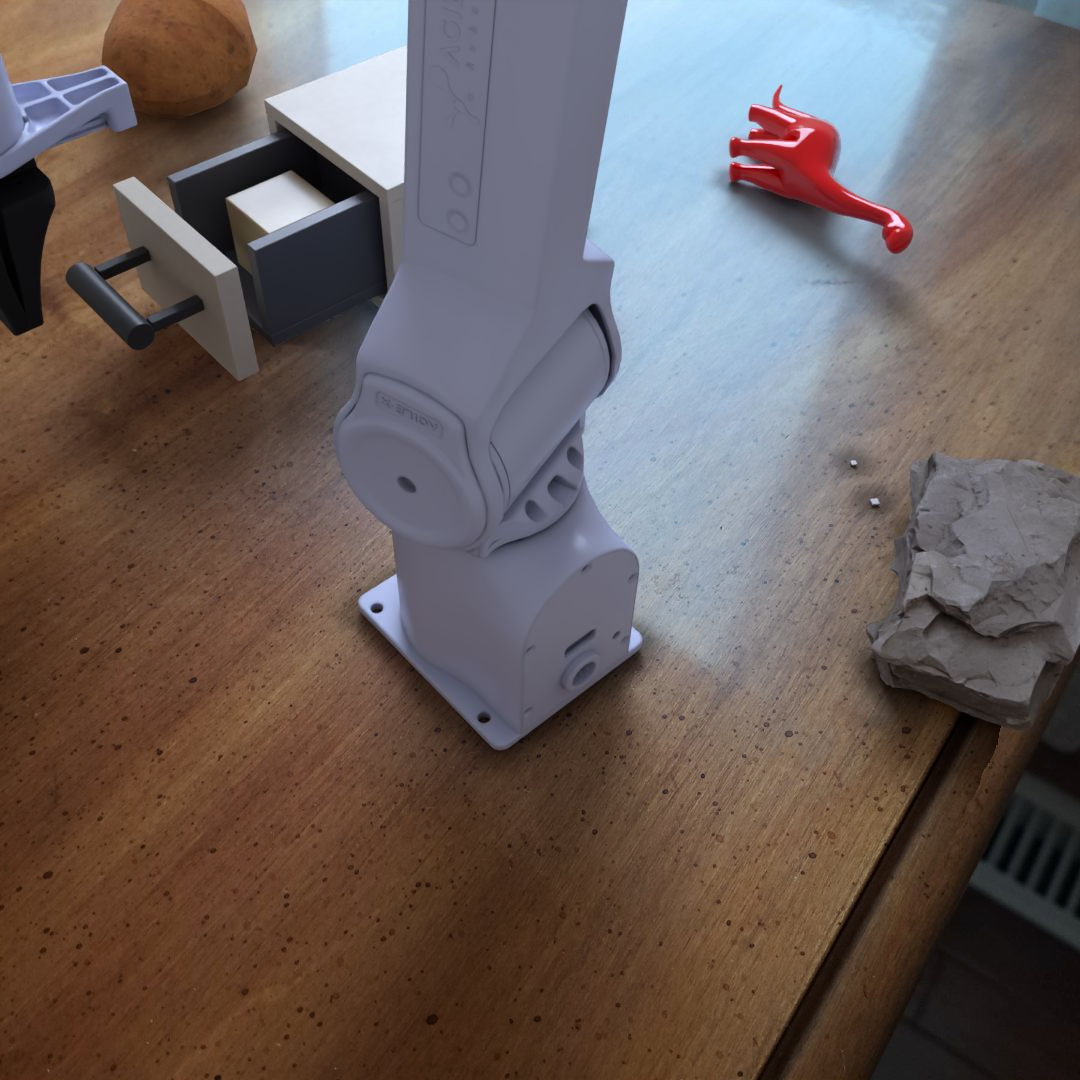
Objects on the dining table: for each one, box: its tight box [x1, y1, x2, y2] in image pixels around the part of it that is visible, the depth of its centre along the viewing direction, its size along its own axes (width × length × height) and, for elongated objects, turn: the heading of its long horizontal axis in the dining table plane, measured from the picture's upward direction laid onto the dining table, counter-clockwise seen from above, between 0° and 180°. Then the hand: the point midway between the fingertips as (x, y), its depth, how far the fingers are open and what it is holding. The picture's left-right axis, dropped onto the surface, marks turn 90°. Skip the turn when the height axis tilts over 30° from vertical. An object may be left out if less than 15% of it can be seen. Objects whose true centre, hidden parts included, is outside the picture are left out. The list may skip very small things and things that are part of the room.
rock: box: [865, 451, 1080, 731], centre depth 50 cm, size 14×9×4 cm
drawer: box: [65, 128, 388, 382], centre depth 60 cm, size 16×9×6 cm, turn 131°
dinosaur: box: [728, 84, 914, 255], centre depth 70 cm, size 4×15×12 cm
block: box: [225, 170, 335, 275], centre depth 61 cm, size 4×4×4 cm
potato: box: [101, 0, 259, 119], centre depth 74 cm, size 9×11×8 cm
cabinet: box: [263, 44, 407, 309], centre depth 65 cm, size 13×11×8 cm
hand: (20, 319), depth 53 cm, fingers closed
